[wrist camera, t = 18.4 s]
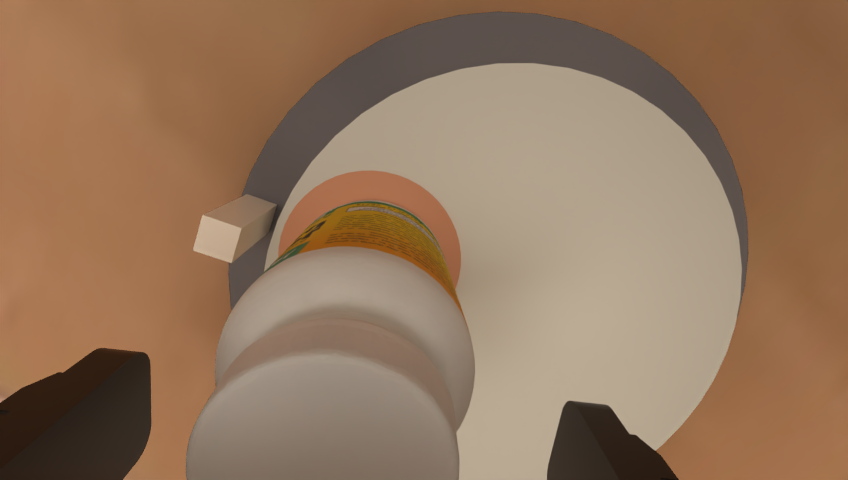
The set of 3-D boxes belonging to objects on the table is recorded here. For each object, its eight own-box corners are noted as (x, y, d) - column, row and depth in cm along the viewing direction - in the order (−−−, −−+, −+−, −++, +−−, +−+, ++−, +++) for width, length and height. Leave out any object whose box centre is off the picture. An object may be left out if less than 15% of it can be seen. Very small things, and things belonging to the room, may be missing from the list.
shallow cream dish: (772, 342, 20) (891, 413, 15) (437, 538, 22) (447, 656, 17) (576, -38, 16) (654, -110, 11) (181, 248, 17) (96, 298, 13)
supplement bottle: (411, 360, 17) (420, 656, 7) (273, 310, 16) (91, 568, 7) (471, 231, 16) (570, 389, 6) (325, 171, 15) (191, 248, 6)
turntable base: (738, -25, 17) (871, -84, 12) (726, 450, 23) (812, 539, 18) (170, 67, 17) (78, 46, 12) (302, 521, 23) (274, 629, 18)
